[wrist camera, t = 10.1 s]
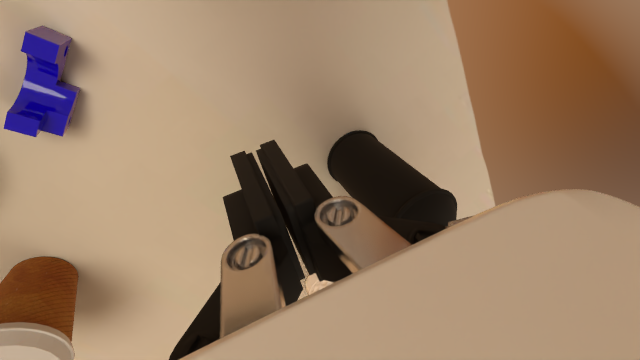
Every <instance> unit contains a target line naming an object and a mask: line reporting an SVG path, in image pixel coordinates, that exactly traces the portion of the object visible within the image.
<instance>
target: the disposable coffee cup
mask: <svg viewBox="0 0 640 360" xmlns="http://www.w3.org/2000/svg"><path fill="white" fill-rule="evenodd" d="M77 282H78V273H77V270H76V269H75V268H74V267H73V266H72V265H71V264H70V263H68V262H66V261H64V260H61V259H58V258H53V257H36V258H31V259H28V260H25V261H22V262H20V263H18V264H17V265H15V266H14V267H13V268H12V269H11V270H10V272H9V273H8V274H7V276H6V277H5V278H4V280H3V281H2V282H1V283H0V360H74V355H75V353H74V350H73V346H72V343H71V341H72V331H73V327H72V326H73V321H74V312H75V308H74V307H75V302H76V293H77V291H76V290H77Z"/></svg>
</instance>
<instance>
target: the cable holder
mask: <svg viewBox="0 0 640 360" xmlns="http://www.w3.org/2000/svg"><path fill="white" fill-rule="evenodd" d="M71 40H72V38H70V37H68V36H66V35H63V34H61V33H59V32H56V31H54V30H51V29H49V28H47V27H44V26H40V27H37V28H34V29H32V30H29V31H26V32H25V36H24V40H23V45H22V49H21V51H22V52H24V53H26V54H27V70H26V75H25V79H24V82H23V85H22V88H21V91H20V93H19V95H18V97H17V99H16V101H15V103H14V104H13V106H12V107H11V109H10V110H9V111H8V112H7V116H6V120H5V125H4V129H7V130H11V131H15V132H19V133H22V134H26V135H30V136H34V137H36V136H37V135H38V134H39V133H40V131H45V132H49V133H52V134H56V135H59V136H63V135H64V134H65V132H66V131H67V129H68V128H69V126H70V123H71V119H72V116H73V112H74V109H75V105H76V102H77V99H78V95H79V92H80V88H79V87H76V86H73V85H70V84H67V83H65V82H62V81H61V77H62V73H63V69H64V66H65V62H66V58H67V55H68V51H69V47H70V43H71Z"/></svg>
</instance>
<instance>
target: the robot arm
mask: <svg viewBox="0 0 640 360" xmlns="http://www.w3.org/2000/svg"><path fill="white" fill-rule="evenodd" d="M260 147H261V149H259V150H256V152H257V155H258V157H259V160H260V163H261V165H262V168H263V171H264V173H265V176H266V179H267V181H268V184H269V187H270V189H271V191H270V189H269V187H268V185H267V183H266V181H265V179H264V177H263V175H262V173H261V171H260V168H259V166H258V164H257V162H256V160H255V158H254V156H253V154H252V152H251V153H248V154H246V153H245V151H243V152H240V153H237V154H235V155H232V156H230V157H231V160H232V163H233V165H234V168H235V171H236V174H237V177H238V179H239V182H240V185H241V188H242V190H239V191H237V192H234V193H232V194H229V195H227V196H224V197H223V200H224V204H225V208H226V212H227V216H228V220H229V223H230V227H231V231H232V235H233V239H234V241H233V242H232V243H231V244H230V245H229V246H228V247H227V248H226V249H225V251H224V253H223V255H222V259H221V282H220V284H219V285H218V287H217V288H216V290H215V291H214V292H213V294H212V295H211V297H210V298H209V300H208V301H207V302H206V304H205V305H204V307H203V308H202V309H201V311H200V312H199V314H198V315H197V317H196V318H195V319H194V321H193V322H192V324H191V325H190V326H189V328H188V329H187V331H186V332H185V334H184V335H183V336H182V338H181V339H180V341H179V342H178V343H177V345H176V346H175V348H174V350H173V352H172V353H171V355H170V358H169V360H640V207H638V206H636V205H633V204H631V203H629V202H626V201H624V200H621V199H618V198H616V197H613V196H610V195H606V194H603V193H599V192H595V191H590V190H578V189H577V190H576V189H569V190H557V191H548V192H540V193H536V194H532V195H528V196H524V197H520V198H517V199H514V200H511V201H508V202H506V203H503V204H500V205H498V206H496V207H493V208H491V209H489V210H486V211H484V212H481V213H479V214H477V215H474V216H471V217H467V218H463V219H459V220H455V221H451V222H448V226H447V227H444V226H442V225H439V224H435V223H430V222H422V221H415V220H407V219H400V218H392V217H385V216H377V215H375V214H374V213H372V212H371V211H370V210H369V209H367V208H366V207H365V206H364V205H362V204H361V203H360V202H359V201H357V200H356V199H354V198H351V197H347V196H338V197H332V196H331V194H330V193H329V192H328V190H327V189H326V188H325V186H324V185H323V184H322V182H321V181H320V180H319V178H318V177H317V176H316V174H315V173H314V172H313V170H312V169H311V168H310V166H309V165H308V164H304V165H301V166H299V167H297V168H294V169H293V167H292V166H291V164H290V163H289V161H288V160H287V158H286V157H285V155H284V154H283V152H282V151H281V149H280V148H279V146H278V145H277V143H276V142H275V140H272V141H269V142H266V143H264V144H261V145H260ZM271 192H272V193H271ZM272 194H273V195H272ZM286 227H287V228H286ZM287 229H288V230H287ZM288 231H289V233H290V235H291V237H292V240H293V242H294V244H295V246H296V248H297V250H298V252H299V254H300V256H301V258H302V260H303V262H304V265H305V267H306V269H307V271H308V273H309V275H312V274H314V273H316V275H317V277H318V279H319V281H320V282H321V281H323V280H325V281H330V282H333V284H330V285H328V286H326V287H324V288H322V289H320V290H318V291H316V292H314V293H312V294H310V295H308V296H306V297H304V298H302V299H300V300H298V298H299V296H300V294H301V291H302V290H303V287H302V285H301V282H300V280H302V279H304V278H305V276H304V273H303V270H302V268H301V265H300V262H299V260H298V257H297V254H296V252H295V249H294V246H293V244H292V241H291V238H290V236H289V233H288ZM297 300H298V301H297Z"/></svg>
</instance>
